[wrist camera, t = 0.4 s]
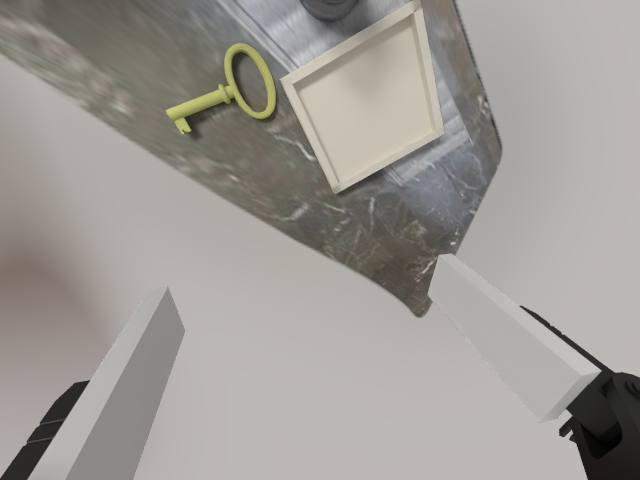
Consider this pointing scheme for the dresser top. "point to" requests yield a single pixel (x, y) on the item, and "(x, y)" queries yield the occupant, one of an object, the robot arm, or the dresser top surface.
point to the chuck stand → (328, 8)
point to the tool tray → (368, 98)
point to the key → (227, 91)
